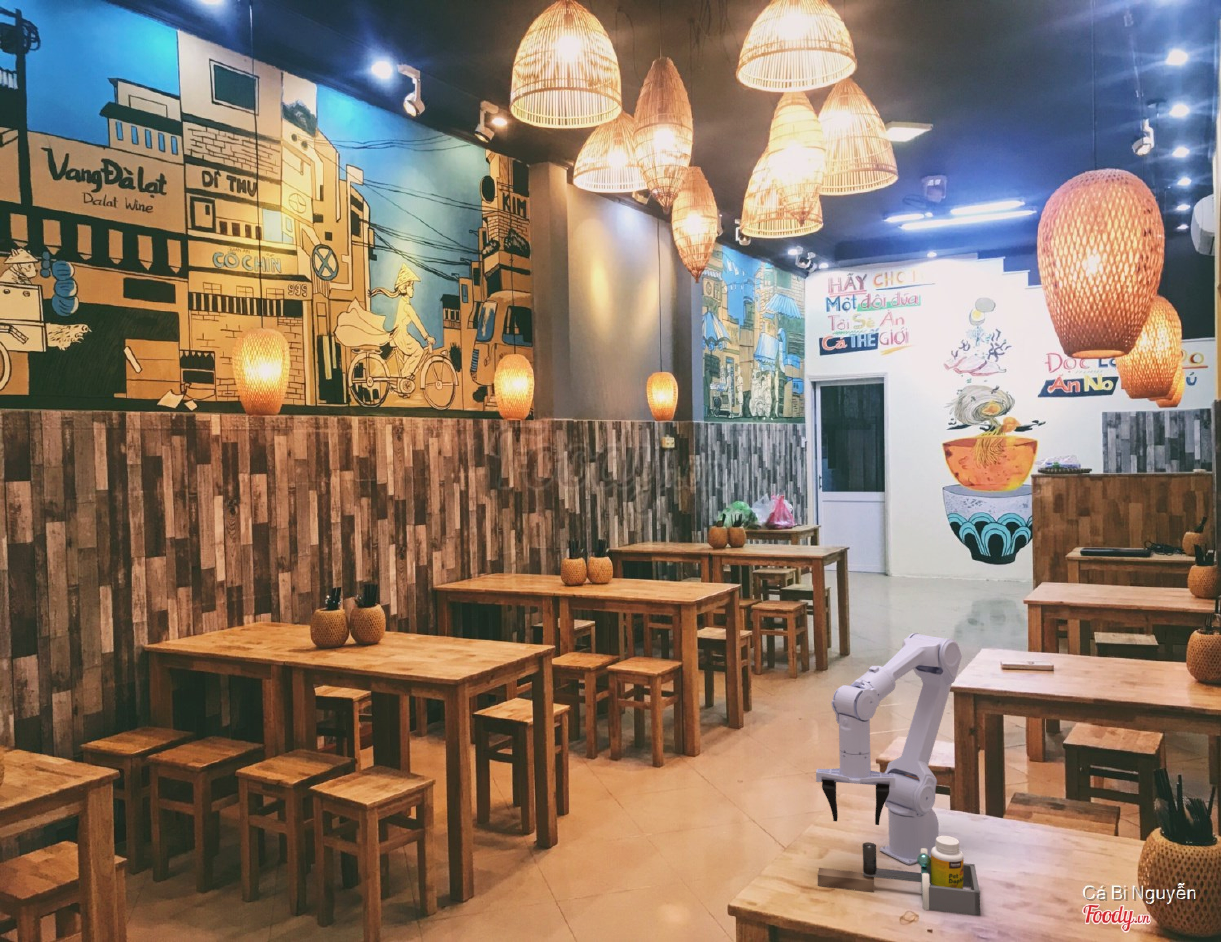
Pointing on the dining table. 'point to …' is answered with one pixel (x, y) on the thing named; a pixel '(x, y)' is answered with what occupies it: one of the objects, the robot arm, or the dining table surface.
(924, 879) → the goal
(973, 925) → the dining table surface
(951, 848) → the supplement bottle
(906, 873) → the slider rail assembly
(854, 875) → the guide
